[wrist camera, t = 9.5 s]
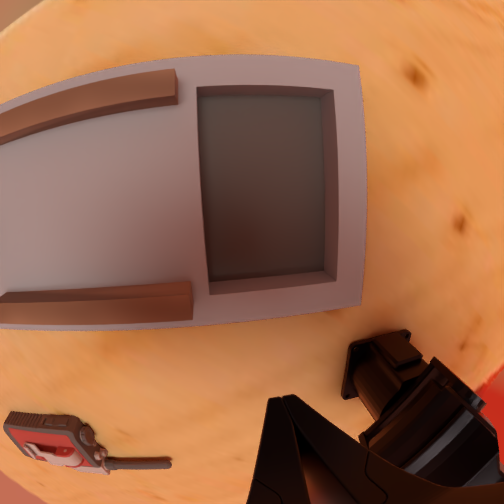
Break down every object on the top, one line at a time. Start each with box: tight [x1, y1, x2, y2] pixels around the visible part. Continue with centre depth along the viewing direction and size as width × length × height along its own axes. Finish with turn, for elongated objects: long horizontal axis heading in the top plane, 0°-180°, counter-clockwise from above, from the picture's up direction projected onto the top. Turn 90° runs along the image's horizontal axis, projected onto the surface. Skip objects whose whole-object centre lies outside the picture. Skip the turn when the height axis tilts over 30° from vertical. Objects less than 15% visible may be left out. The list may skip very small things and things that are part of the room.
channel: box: [0, 68, 194, 325], centre depth 13 cm, size 13×14×2 cm
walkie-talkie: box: [3, 411, 172, 475], centre depth 20 cm, size 9×4×20 cm
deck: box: [0, 55, 367, 331], centre depth 16 cm, size 16×36×2 cm, turn 93°
